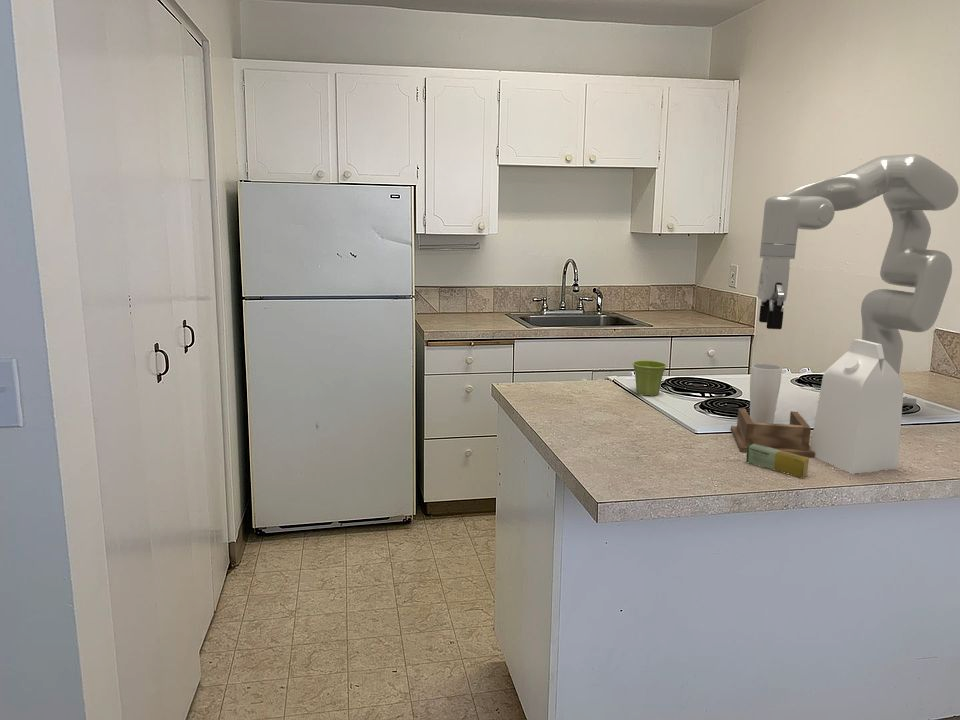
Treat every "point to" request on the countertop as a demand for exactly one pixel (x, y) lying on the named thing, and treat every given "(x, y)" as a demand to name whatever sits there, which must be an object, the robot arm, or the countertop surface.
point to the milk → (859, 411)
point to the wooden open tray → (773, 434)
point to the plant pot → (648, 376)
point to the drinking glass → (764, 392)
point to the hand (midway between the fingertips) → (769, 325)
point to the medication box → (777, 459)
